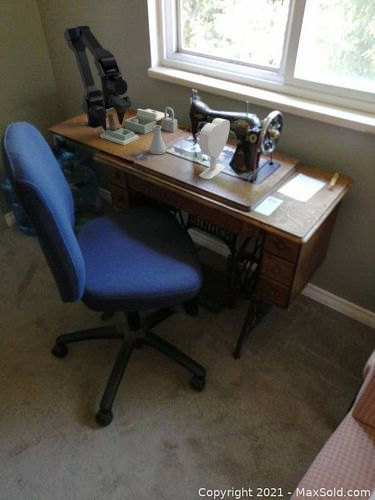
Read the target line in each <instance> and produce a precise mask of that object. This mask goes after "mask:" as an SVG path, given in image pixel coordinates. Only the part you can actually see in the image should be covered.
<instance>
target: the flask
mask: <svg viewBox="0 0 375 500" xmlns="http://www.w3.org/2000/svg"><path fill="white" fill-rule="evenodd" d="M153 129H154V131H153V137H152V140H151V144H150V147H149V150H148V152H149V154H152V155H164V154H166V153H167V152H168V150H167V147H166V145H165V142H164V139H163V136H162V132H161V130H162V125H157V126H153Z"/></svg>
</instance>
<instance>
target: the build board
mask: <svg viewBox="0 0 375 500" xmlns="http://www.w3.org/2000/svg"><path fill="white" fill-rule="evenodd" d="M99 136H100V138H102V139H104V140H108V141H112V142H113V143H117V144H120V145H122V146H125V145H128V144H129V143H132V142H135V141H137V140H138V139H140V135H138V134H135V131H132V130H129V129H126V128H122V127H119V126H117V130H116V131H114V132H113V131H110V127H107V131H105V130H104V129H103V133H101V134H100V135H99Z"/></svg>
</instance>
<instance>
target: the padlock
mask: <svg viewBox="0 0 375 500" xmlns="http://www.w3.org/2000/svg"><path fill="white" fill-rule="evenodd" d="M163 111H164V112H163V113H164V117H163V118H161V120H160V121H161V122H160V123H161V130H164V131H167V132H169V133H170V132H171V133H175V132H177V131H178V119H176V118H175V112H174V109H173V107H172V108H171V107H169V106H166V107H165V108H164V110H163ZM168 111H170V113H171V117H169V116H168V117H167V114H168Z"/></svg>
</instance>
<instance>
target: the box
mask: <svg viewBox="0 0 375 500" xmlns="http://www.w3.org/2000/svg"><path fill="white" fill-rule="evenodd" d="M123 121H124V122H123V123H124V129H127V130H130V131H133V132H134V133H135V132H136V133H139V134H142V135H147V134H150V133H152V132H154V129H153V126H158V125H157V121H155V120H151V119H148V118H144V117H141V116H137V115H135V116H132V117H130V118H127V119H123Z"/></svg>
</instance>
